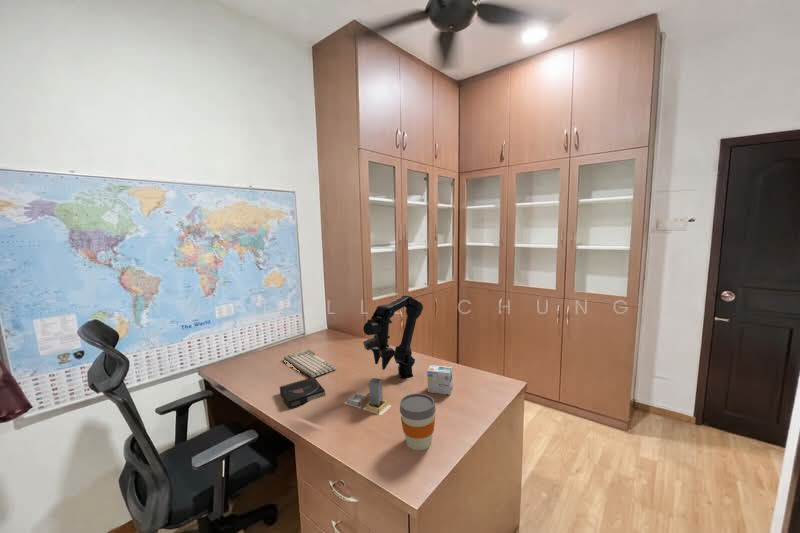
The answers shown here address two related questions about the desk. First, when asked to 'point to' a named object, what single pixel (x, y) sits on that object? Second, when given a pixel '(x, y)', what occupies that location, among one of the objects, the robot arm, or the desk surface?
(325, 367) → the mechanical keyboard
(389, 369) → the desk surface
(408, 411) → the reusable coffee cup
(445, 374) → the light bulb box
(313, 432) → the desk surface
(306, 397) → the portable cd player
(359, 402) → the board
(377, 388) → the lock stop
